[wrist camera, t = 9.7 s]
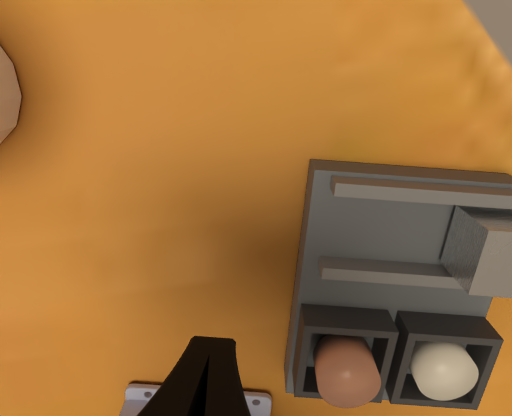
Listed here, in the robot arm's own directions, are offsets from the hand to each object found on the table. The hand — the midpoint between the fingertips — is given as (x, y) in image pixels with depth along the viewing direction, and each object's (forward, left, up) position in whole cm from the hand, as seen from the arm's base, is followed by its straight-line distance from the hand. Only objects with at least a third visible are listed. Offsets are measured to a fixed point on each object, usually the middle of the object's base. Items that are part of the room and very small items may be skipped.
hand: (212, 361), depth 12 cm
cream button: (+11, -5, -7) cm, 14 cm away
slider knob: (+12, +2, -7) cm, 14 cm away
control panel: (+9, -2, -9) cm, 13 cm away
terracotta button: (+6, -5, -6) cm, 10 cm away
